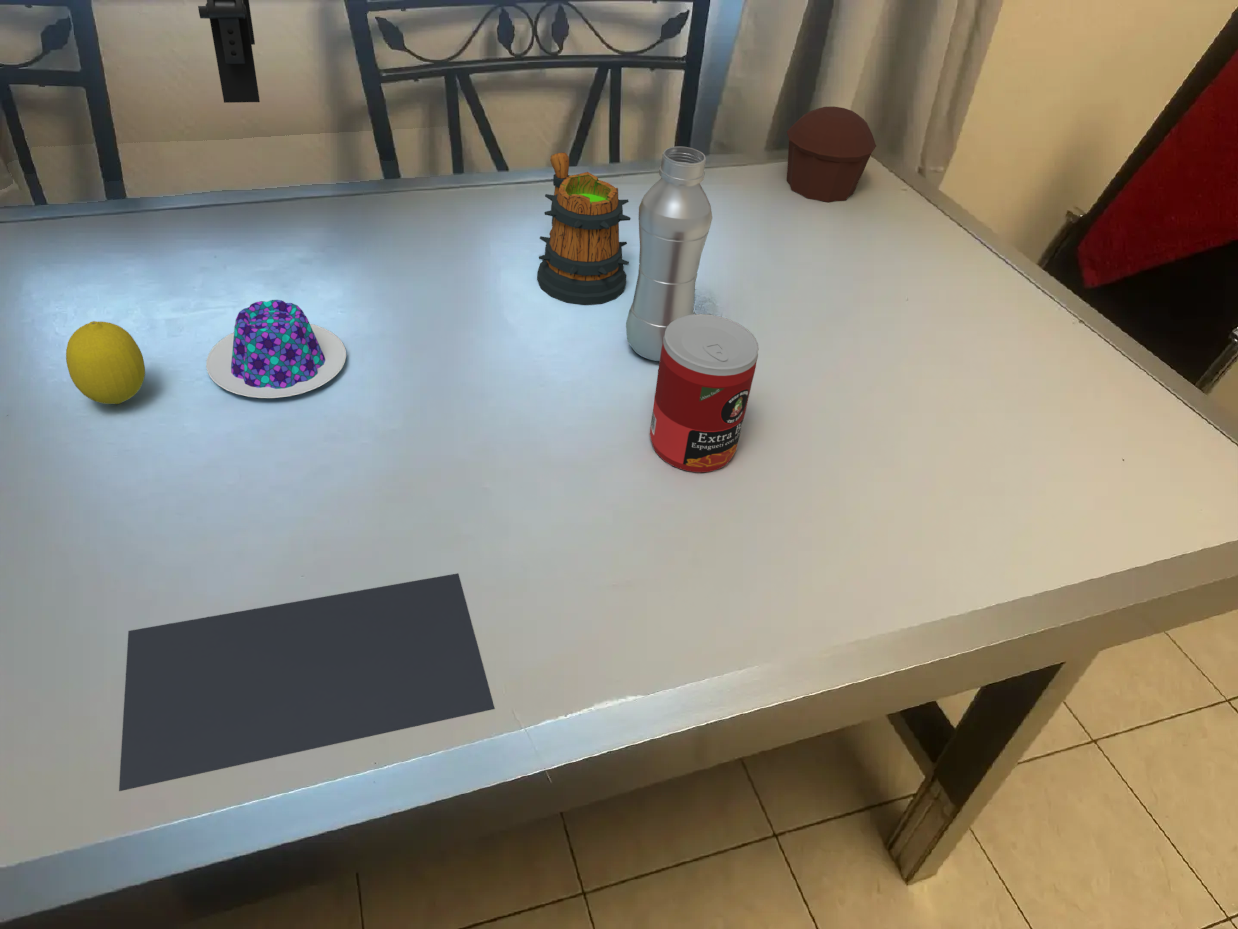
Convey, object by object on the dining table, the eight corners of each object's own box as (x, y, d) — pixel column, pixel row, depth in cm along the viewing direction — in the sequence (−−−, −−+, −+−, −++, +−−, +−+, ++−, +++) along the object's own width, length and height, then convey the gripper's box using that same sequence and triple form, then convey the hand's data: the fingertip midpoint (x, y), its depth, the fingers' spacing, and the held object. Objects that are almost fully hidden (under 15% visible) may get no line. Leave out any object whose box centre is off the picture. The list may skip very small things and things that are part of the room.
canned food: (691, 487, 79) (711, 380, 72) (629, 435, 83) (643, 329, 76) (755, 454, 83) (780, 349, 76) (693, 406, 88) (711, 303, 80)
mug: (645, 296, 101) (658, 194, 94) (558, 313, 97) (564, 208, 90) (591, 239, 110) (599, 142, 102) (509, 253, 105) (510, 152, 98)
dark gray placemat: (119, 791, 55) (118, 791, 55) (128, 631, 63) (128, 630, 63) (494, 709, 61) (494, 708, 61) (458, 574, 70) (458, 573, 70)
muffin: (817, 162, 132) (834, 89, 126) (880, 193, 127) (901, 119, 120) (758, 180, 126) (773, 104, 120) (822, 214, 120) (841, 137, 114)
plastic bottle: (680, 377, 91) (713, 178, 78) (613, 358, 92) (635, 160, 79) (698, 342, 96) (732, 150, 82) (634, 325, 97) (658, 133, 84)
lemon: (78, 426, 78) (49, 345, 72) (86, 386, 82) (59, 306, 76) (152, 419, 79) (128, 339, 74) (156, 380, 83) (134, 301, 78)
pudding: (346, 401, 83) (340, 351, 80) (200, 408, 81) (187, 357, 77) (347, 325, 92) (342, 277, 89) (215, 329, 90) (204, 280, 86)
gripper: (253, -203, 60) (294, 127, 74) (245, -252, 78) (279, 22, 91) (122, -212, 58) (190, 130, 72) (144, -261, 75) (195, 22, 89)
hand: (240, 70), depth 82 cm, fingers open, 13 cm apart
